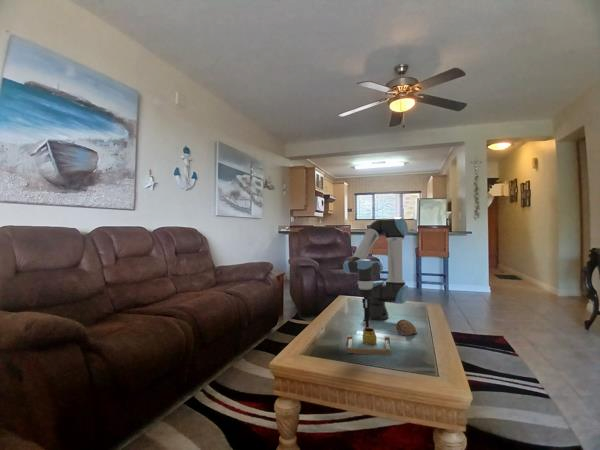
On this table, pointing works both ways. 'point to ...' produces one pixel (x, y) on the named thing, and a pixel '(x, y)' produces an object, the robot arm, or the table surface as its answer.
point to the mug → (369, 336)
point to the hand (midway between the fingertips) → (367, 332)
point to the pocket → (369, 350)
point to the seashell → (405, 327)
